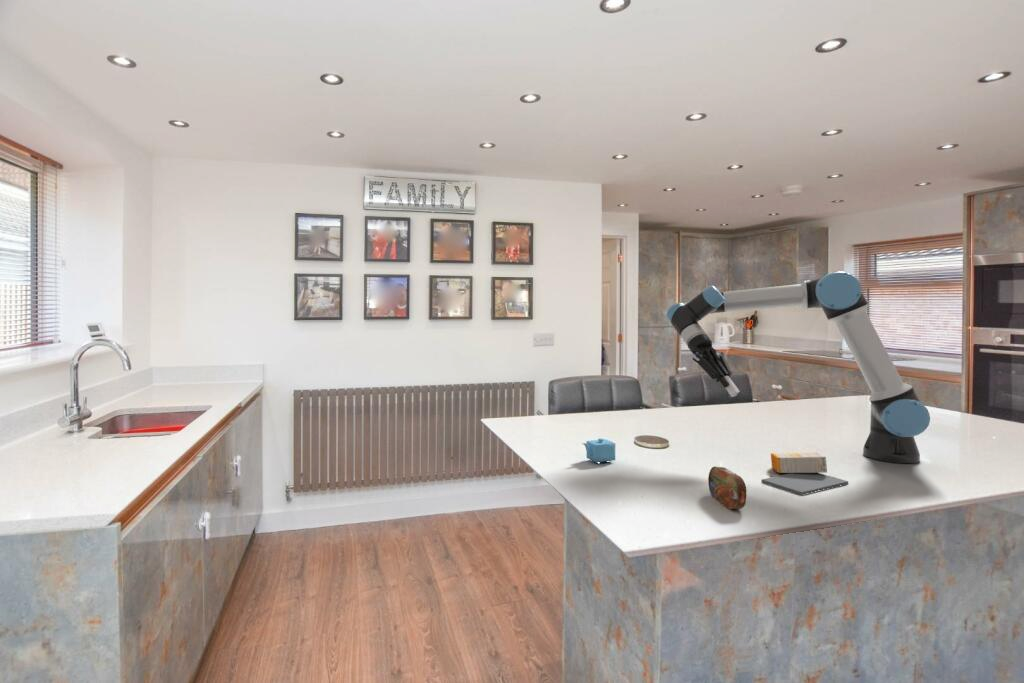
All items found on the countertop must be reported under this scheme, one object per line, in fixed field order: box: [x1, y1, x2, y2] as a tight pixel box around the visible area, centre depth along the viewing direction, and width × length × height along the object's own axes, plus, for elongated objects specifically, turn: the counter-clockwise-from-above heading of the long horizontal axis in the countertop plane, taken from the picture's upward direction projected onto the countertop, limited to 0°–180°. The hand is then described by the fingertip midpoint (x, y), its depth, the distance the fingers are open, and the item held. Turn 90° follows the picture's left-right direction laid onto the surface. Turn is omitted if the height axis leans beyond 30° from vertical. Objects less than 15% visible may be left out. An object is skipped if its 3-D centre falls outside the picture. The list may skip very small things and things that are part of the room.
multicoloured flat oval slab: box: [707, 466, 748, 510], centre depth 130 cm, size 15×3×8 cm, turn 5°
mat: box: [761, 473, 849, 496], centre depth 146 cm, size 20×12×1 cm, turn 116°
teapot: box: [581, 438, 616, 463], centre depth 168 cm, size 12×6×8 cm, turn 111°
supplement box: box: [770, 452, 828, 474], centre depth 155 cm, size 8×5×13 cm
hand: (735, 394), depth 166 cm, fingers closed
